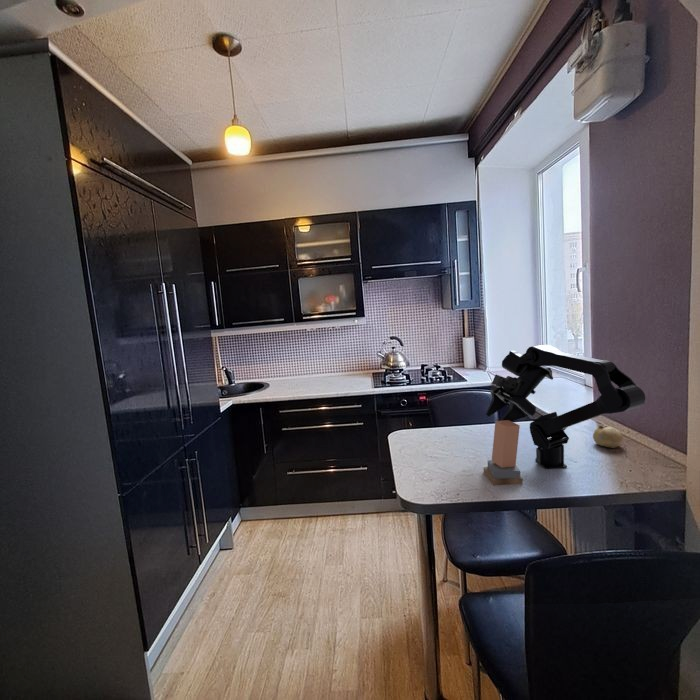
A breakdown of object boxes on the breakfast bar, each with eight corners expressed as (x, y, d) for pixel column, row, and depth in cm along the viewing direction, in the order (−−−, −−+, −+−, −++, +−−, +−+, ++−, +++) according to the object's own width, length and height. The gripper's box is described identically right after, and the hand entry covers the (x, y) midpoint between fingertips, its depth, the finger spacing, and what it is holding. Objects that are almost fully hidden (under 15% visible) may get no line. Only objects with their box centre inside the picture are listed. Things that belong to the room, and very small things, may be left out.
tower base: (510, 472, 109) (510, 465, 109) (522, 486, 101) (522, 478, 101) (483, 474, 109) (483, 467, 109) (493, 487, 101) (492, 480, 101)
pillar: (504, 459, 108) (508, 420, 106) (515, 466, 103) (519, 425, 102) (491, 460, 107) (495, 420, 105) (501, 467, 102) (505, 426, 101)
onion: (613, 440, 125) (613, 420, 124) (628, 450, 117) (628, 428, 116) (588, 441, 126) (588, 421, 125) (601, 450, 118) (601, 429, 117)
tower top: (512, 467, 108) (512, 460, 108) (520, 478, 101) (520, 470, 101) (487, 467, 109) (487, 460, 108) (493, 478, 102) (493, 471, 102)
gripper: (495, 360, 122) (463, 396, 122) (525, 370, 103) (488, 412, 104) (518, 382, 123) (487, 417, 124) (552, 395, 105) (515, 436, 105)
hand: (493, 419), depth 114 cm, fingers open, 9 cm apart
